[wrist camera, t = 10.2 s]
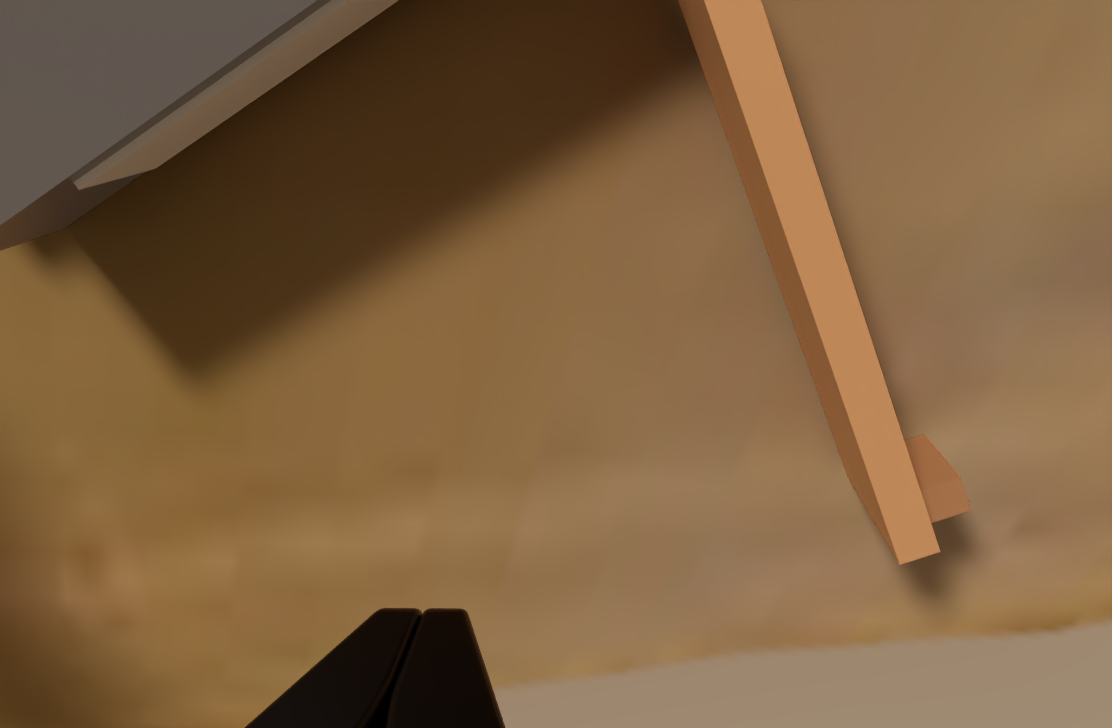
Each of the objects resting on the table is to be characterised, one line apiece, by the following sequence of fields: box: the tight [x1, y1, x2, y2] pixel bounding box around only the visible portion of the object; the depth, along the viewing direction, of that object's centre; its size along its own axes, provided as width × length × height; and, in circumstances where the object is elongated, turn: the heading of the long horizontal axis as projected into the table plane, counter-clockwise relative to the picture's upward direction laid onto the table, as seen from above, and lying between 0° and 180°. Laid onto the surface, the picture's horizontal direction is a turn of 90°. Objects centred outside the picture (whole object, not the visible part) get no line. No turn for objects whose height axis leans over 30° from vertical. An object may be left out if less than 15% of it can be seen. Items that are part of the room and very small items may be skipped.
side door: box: [678, 0, 971, 565], centre depth 16 cm, size 14×2×4 cm, turn 24°
